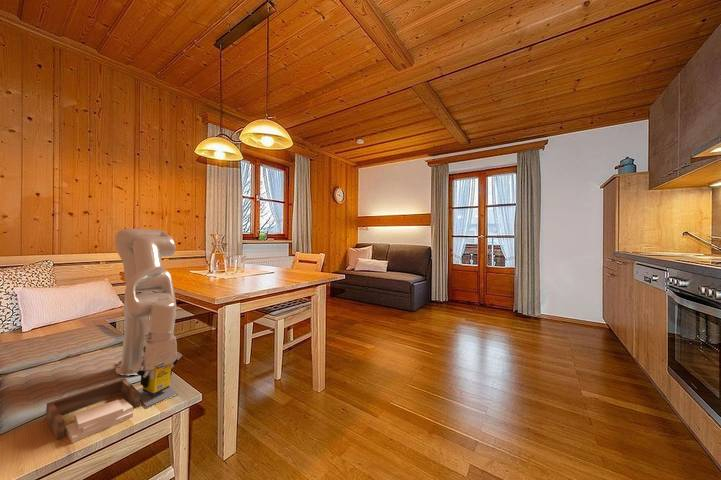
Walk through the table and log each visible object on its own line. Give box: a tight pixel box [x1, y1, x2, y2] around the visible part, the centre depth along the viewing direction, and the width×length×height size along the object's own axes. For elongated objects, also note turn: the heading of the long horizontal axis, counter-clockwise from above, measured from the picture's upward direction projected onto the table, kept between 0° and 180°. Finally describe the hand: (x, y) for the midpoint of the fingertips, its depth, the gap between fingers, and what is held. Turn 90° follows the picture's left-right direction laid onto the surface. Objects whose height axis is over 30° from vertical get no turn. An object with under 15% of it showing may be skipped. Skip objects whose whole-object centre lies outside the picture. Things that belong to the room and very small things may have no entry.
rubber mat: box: [136, 385, 179, 409], centre depth 102 cm, size 12×10×1 cm
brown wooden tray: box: [45, 377, 140, 441], centre depth 90 cm, size 13×19×5 cm, turn 149°
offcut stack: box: [64, 398, 134, 444], centre depth 86 cm, size 8×14×4 cm, turn 149°
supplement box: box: [142, 363, 172, 395], centre depth 102 cm, size 6×6×11 cm
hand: (156, 381), depth 102 cm, fingers closed on supplement box, 6 cm apart
